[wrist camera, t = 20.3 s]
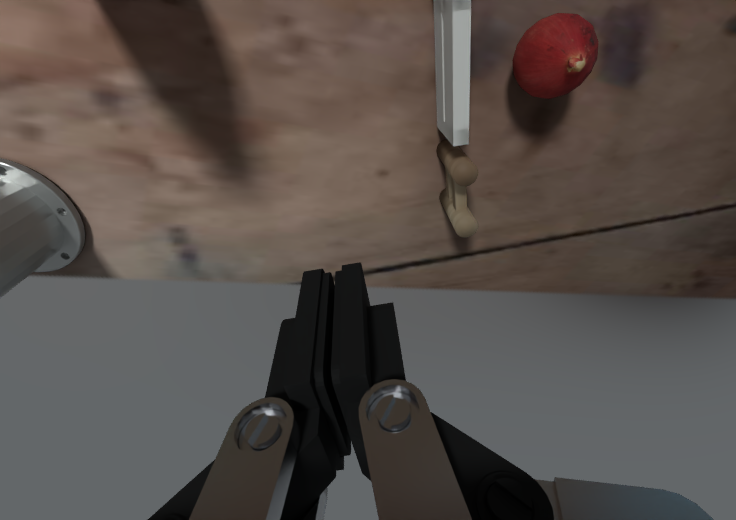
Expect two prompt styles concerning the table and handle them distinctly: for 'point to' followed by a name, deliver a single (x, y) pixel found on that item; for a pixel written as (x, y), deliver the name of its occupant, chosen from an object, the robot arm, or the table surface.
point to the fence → (457, 187)
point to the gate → (453, 68)
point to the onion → (555, 55)
